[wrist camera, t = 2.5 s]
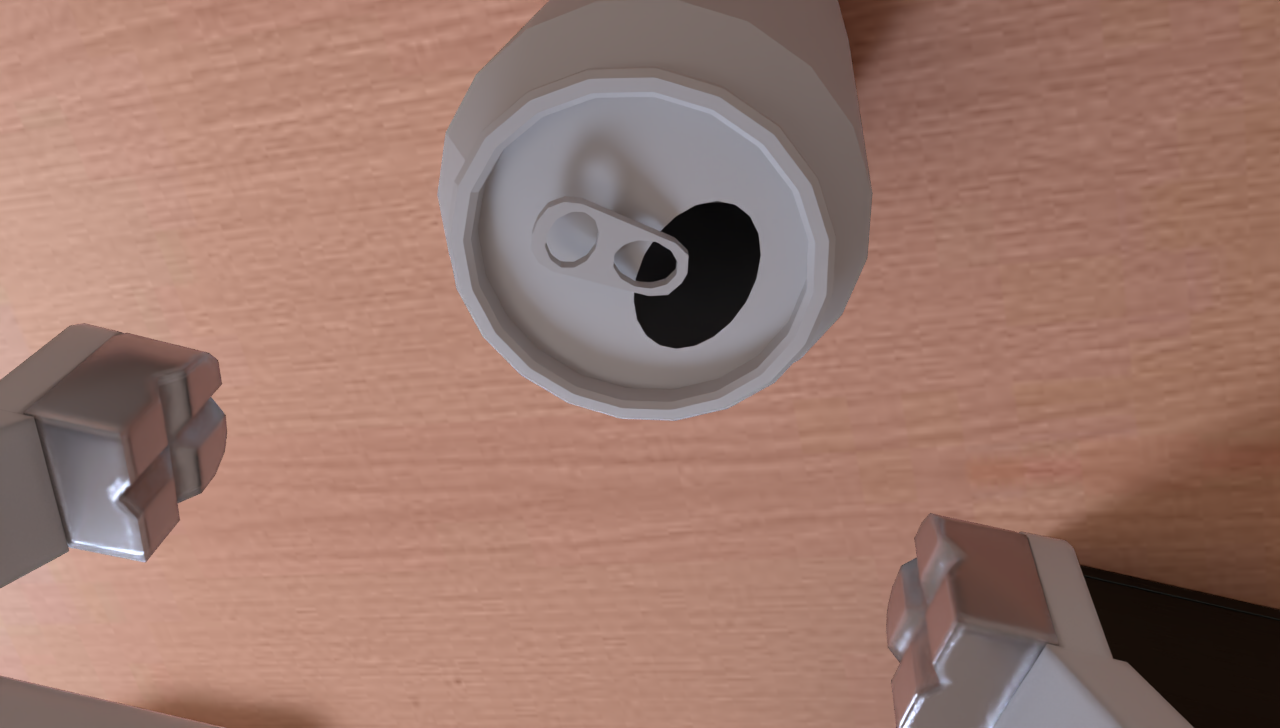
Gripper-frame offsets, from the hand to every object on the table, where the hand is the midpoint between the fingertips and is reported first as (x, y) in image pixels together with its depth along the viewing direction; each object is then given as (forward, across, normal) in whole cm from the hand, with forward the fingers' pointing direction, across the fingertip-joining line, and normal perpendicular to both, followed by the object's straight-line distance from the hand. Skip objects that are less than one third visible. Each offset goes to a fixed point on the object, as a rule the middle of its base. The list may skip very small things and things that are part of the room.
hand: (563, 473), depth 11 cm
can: (+17, 0, 0) cm, 17 cm away
